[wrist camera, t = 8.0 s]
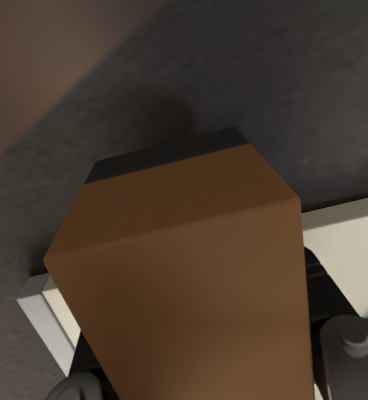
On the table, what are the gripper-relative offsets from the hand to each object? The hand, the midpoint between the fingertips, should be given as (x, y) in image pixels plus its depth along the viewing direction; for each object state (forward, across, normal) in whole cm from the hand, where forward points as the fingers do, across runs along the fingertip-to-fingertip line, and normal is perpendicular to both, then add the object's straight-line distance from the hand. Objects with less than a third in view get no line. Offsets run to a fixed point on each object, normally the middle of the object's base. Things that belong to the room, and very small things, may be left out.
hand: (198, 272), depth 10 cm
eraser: (0, 0, 0) cm, 0 cm away
